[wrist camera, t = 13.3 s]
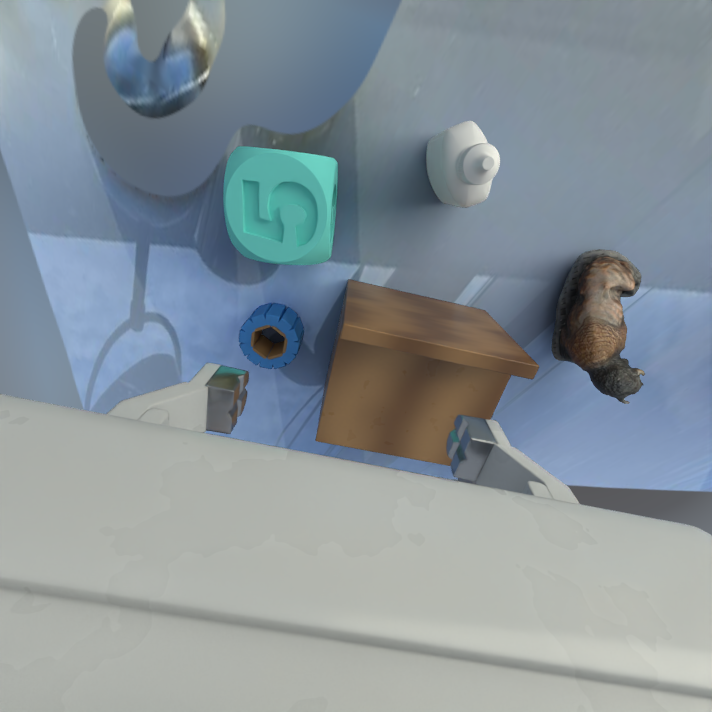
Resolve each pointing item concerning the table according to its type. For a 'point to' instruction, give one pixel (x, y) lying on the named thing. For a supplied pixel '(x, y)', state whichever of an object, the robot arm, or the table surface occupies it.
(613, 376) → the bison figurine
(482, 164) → the eye dropper bottle
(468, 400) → the shelf
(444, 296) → the table surface
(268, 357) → the blue grooved cylinder
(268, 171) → the decorative dice
